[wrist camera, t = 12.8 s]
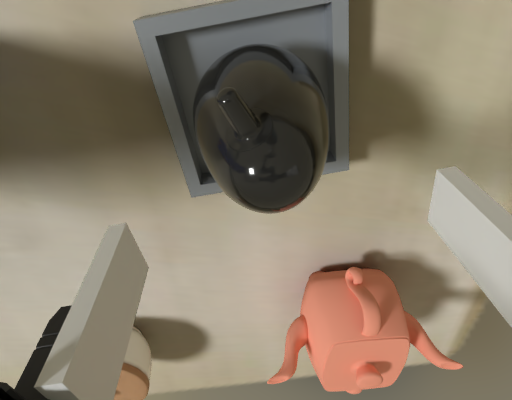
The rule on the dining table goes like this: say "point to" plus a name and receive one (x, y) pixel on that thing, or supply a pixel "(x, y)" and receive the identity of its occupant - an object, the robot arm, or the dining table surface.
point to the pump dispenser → (262, 127)
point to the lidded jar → (135, 369)
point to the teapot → (355, 332)
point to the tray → (236, 35)
